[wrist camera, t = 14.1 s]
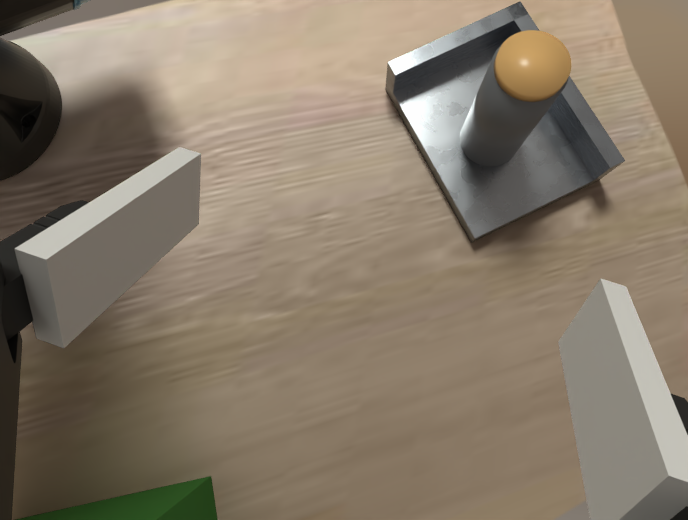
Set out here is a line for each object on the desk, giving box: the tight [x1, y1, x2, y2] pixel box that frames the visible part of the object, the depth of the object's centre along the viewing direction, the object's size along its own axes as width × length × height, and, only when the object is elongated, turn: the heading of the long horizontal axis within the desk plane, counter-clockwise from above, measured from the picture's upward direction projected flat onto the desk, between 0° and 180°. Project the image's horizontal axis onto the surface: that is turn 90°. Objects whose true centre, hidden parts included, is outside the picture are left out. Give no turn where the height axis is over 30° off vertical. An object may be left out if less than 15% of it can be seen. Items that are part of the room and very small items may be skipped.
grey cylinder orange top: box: [460, 30, 571, 166], centre depth 39 cm, size 6×6×12 cm
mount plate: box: [386, 2, 625, 242], centre depth 45 cm, size 18×14×4 cm
